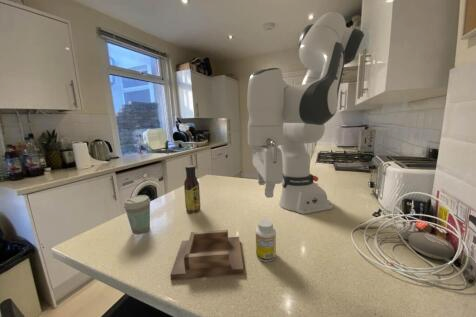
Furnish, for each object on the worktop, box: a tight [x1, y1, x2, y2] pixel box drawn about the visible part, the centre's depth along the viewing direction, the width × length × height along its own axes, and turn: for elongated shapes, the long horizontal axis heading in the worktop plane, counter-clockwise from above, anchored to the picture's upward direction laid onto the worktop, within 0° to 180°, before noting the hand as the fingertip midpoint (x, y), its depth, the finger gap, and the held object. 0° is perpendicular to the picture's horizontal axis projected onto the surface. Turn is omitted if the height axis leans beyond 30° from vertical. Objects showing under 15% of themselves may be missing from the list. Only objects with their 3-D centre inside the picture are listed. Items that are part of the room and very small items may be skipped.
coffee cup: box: [123, 194, 151, 235], centre depth 72 cm, size 8×8×12 cm
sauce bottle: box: [183, 164, 201, 215], centre depth 85 cm, size 7×6×20 cm
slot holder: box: [169, 229, 244, 281], centre depth 56 cm, size 18×14×5 cm
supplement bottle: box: [255, 219, 277, 262], centre depth 56 cm, size 6×6×10 cm
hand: (264, 189), depth 53 cm, fingers open, 8 cm apart
